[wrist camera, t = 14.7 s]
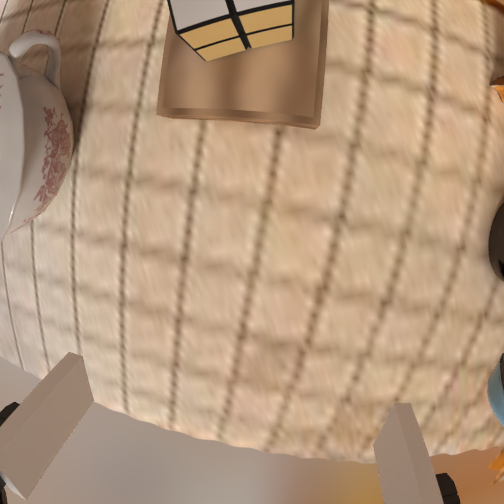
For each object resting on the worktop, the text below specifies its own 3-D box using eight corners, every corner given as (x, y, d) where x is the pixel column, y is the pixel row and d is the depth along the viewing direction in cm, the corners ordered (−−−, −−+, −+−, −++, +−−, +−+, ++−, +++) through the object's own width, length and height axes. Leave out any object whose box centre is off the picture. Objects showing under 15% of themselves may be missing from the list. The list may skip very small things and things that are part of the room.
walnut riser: (324, 4, 32) (329, -17, 26) (315, 129, 37) (320, 125, 31) (189, -1, 33) (175, -20, 27) (174, 118, 39) (155, 114, 33)
